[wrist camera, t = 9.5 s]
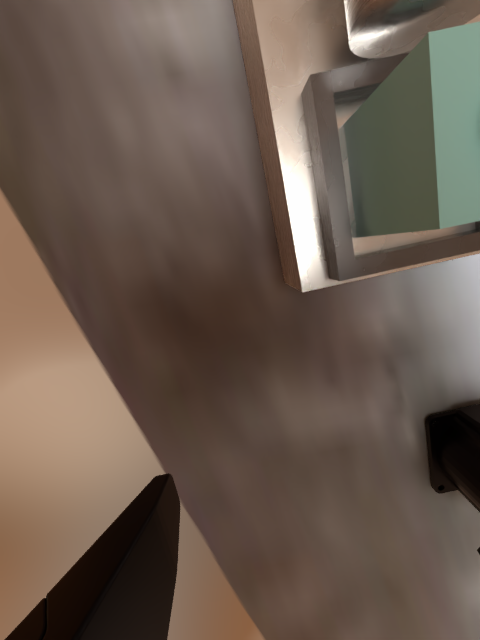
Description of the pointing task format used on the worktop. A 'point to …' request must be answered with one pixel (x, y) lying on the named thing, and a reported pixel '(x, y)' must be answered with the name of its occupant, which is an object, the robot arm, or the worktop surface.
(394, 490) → the worktop surface
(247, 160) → the worktop surface
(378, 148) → the green block with knob
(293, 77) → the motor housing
